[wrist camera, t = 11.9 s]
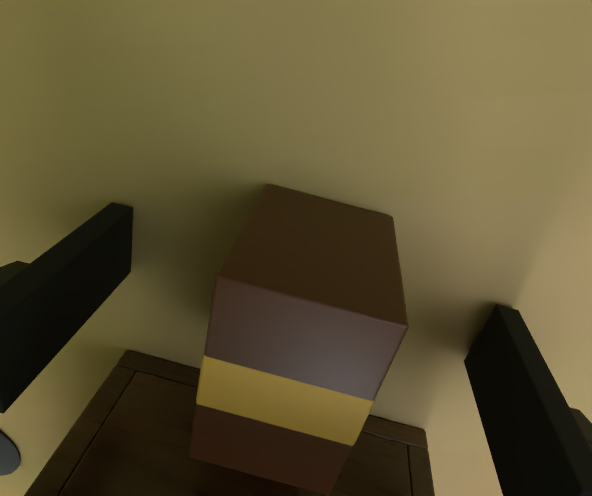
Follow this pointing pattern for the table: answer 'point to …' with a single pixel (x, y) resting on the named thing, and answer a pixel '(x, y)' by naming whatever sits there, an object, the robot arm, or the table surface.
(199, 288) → the table surface
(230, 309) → the chocolate
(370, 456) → the cabinet
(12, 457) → the sundae
